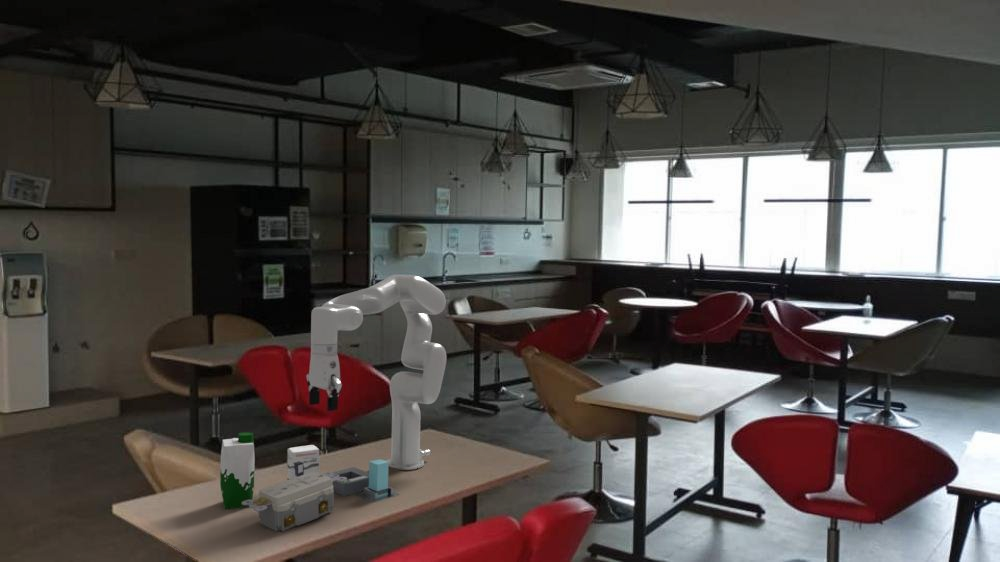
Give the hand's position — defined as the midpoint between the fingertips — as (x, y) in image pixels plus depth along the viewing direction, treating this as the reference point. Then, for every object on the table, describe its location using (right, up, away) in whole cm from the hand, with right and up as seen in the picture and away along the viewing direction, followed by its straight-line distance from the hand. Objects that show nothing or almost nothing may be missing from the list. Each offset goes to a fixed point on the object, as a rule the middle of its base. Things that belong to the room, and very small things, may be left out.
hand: (323, 407), depth 222 cm
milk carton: (-23, -27, -7) cm, 36 cm away
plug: (+16, -26, +2) cm, 31 cm away
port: (+6, -26, +9) cm, 28 cm away
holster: (+16, -27, +2) cm, 31 cm away
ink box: (-9, -26, +10) cm, 29 cm away
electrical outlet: (-3, -28, -17) cm, 33 cm away
